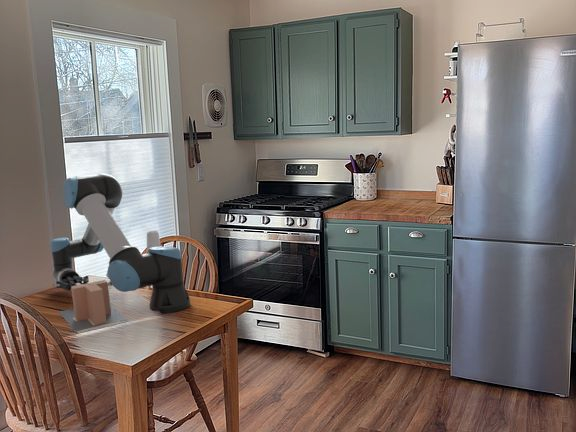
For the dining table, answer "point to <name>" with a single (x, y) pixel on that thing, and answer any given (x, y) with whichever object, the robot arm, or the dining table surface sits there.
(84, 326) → the slate board
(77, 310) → the t block
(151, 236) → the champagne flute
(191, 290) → the dining table surface
